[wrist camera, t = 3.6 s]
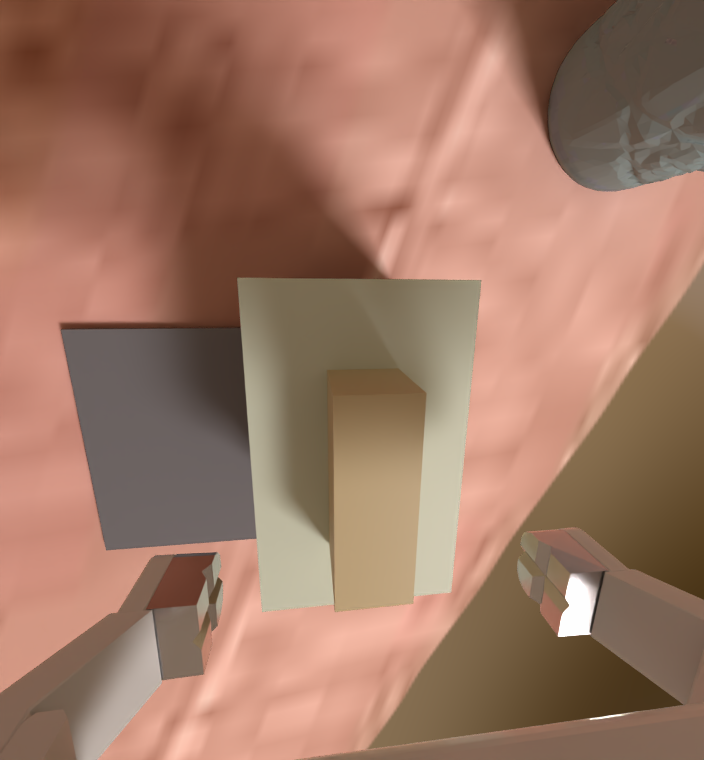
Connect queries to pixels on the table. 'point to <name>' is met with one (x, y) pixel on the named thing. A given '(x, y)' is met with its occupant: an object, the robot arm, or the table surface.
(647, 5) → the gray embossed pot
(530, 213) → the table surface
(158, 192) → the table surface
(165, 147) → the table surface
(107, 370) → the mat
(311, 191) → the table surface
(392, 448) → the lid
